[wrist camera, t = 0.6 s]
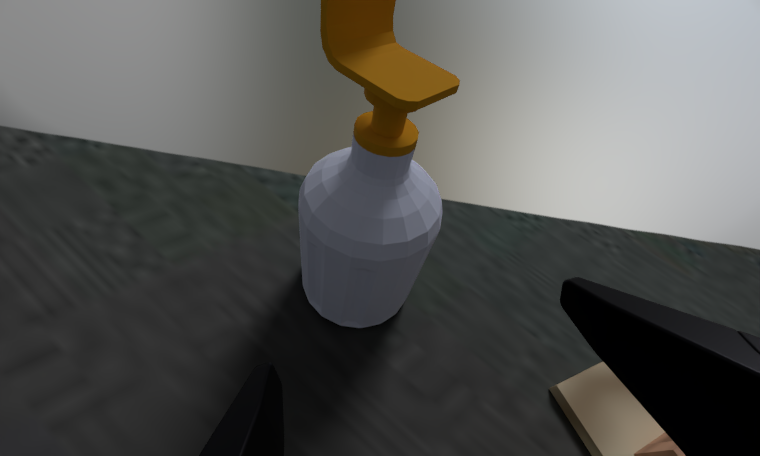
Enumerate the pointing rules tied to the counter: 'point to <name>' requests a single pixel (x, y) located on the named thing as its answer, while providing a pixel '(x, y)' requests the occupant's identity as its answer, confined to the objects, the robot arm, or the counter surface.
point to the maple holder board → (610, 416)
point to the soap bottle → (371, 175)
